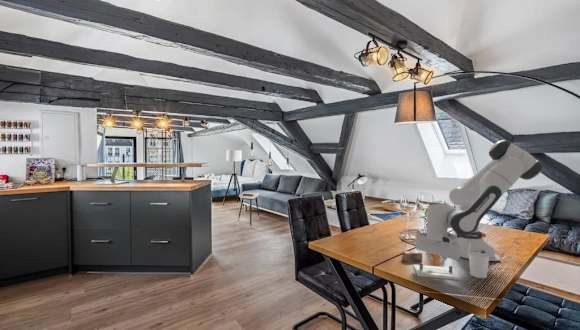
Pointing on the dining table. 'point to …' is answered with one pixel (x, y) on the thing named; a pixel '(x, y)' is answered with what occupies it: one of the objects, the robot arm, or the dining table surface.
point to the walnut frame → (412, 256)
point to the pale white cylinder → (478, 264)
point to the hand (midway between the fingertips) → (436, 263)
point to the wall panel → (436, 272)
